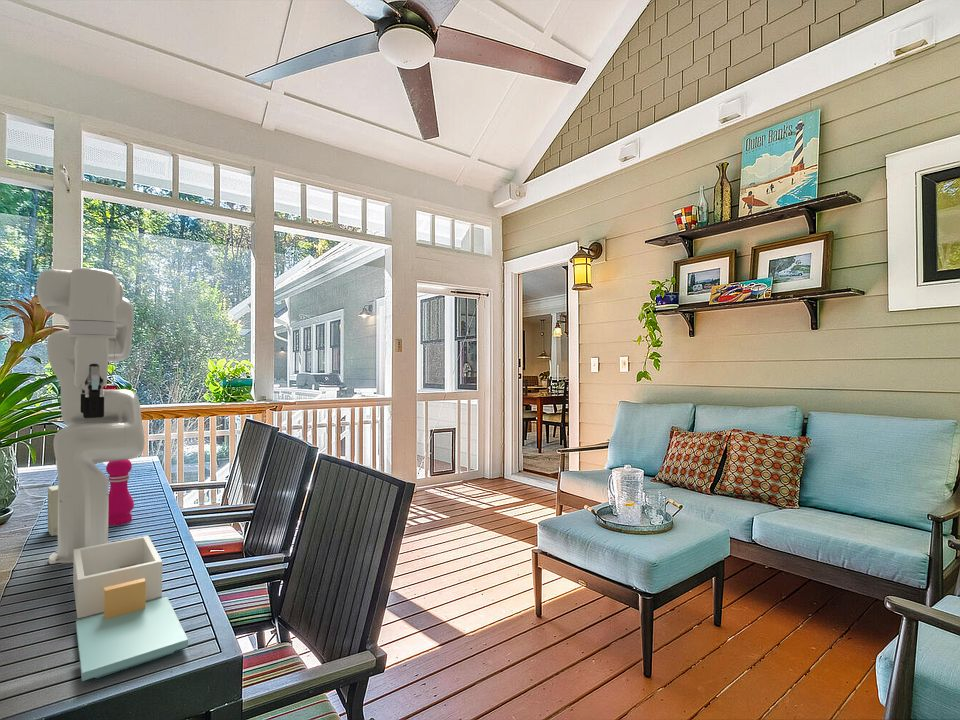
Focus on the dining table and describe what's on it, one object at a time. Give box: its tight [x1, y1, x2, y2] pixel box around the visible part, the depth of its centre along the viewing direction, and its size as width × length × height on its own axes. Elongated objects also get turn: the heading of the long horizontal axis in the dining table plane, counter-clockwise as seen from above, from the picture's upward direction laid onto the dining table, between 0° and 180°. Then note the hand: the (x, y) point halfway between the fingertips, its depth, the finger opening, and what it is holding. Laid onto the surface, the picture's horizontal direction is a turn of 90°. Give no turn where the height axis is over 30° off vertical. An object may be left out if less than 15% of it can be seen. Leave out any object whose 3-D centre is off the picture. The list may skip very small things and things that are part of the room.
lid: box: [75, 578, 189, 682], centre depth 84 cm, size 19×14×8 cm
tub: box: [72, 535, 163, 620], centre depth 101 cm, size 18×13×8 cm
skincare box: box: [47, 485, 58, 537], centre depth 135 cm, size 6×4×12 cm
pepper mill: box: [105, 459, 135, 527], centre depth 144 cm, size 7×7×20 cm
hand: (91, 415), depth 101 cm, fingers open, 9 cm apart
